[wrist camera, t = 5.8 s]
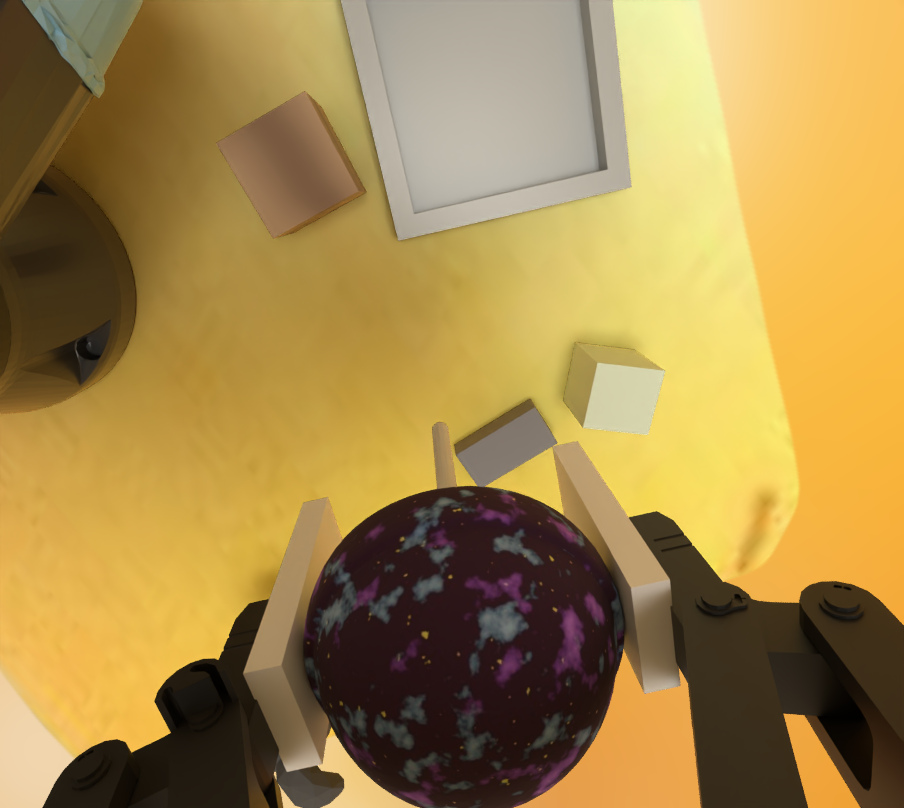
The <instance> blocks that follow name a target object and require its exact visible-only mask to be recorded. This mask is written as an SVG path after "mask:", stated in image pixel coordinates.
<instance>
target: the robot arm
mask: <svg viewBox="0 0 904 808" xmlns="http://www.w3.org/2000/svg"><path fill="white" fill-rule="evenodd" d="M142 3H143V0H0V414H7V413H20V412H28V411H34V410H38V409H42V408H46V407H49V406H52V405H55V404H58V403H60V402H62V401H65V400H67V399H69V398H70V397H72V396H74V395H76V394H78V393H79V392H81V391H83V390H85V389H87V388H88V387H90V386H92V385H93V384H95V383H96V382H98V381H99V380H100V379H101V378H103V377H104V376H105V375H106V374H107V373H108V372H109V371H110V370H111V369H112V368H113V366H114V365H115V364H116V363H117V361H118V360H119V359H120V357H121V355H122V354H123V352H124V350H125V348H126V346H127V344H128V341H129V339H130V336H131V333H132V329H133V325H134V320H135V311H136V293H135V284H134V278H133V274H132V269H131V266H130V262H129V260H128V257H127V254H126V251H125V249H124V247H123V245H122V242H121V240H120V238H119V237H118V235H117V233H116V231H115V229H114V228H113V226H112V224H111V223H110V221H109V220H108V219H107V217H106V216H105V214H104V213H103V212H102V210H101V209H100V208H99V207H98V205H97V204H96V203H95V202H94V201H93V200H92V199H91V198H90V196H88V195H87V194H86V193H85V192H84V191H83V190H82V189H81V188H80V187H79V186H78V185H77V184H76V183H75V182H73V181H72V180H71V179H70V178H68V177H67V176H66V175H64V174H63V173H62V172H60V171H59V170H57V169H56V168H54V167H53V166H51V165H50V164H51V162H52V161H53V159H54V157H55V156H56V154H57V153H58V151H59V150H60V148H61V146H62V145H63V143H64V142H65V140H66V139H67V137H68V135H69V134H70V132H71V131H72V129H73V128H74V126H75V125H76V123H77V121H78V120H79V118H80V117H81V115H82V114H83V112H84V110H85V109H86V107H87V106H88V104H89V103H90V101H91V99H92V98H93V96H96V97H98V98H100V97H101V95H102V94H103V92H104V90H105V81H104V77H103V76H104V74H105V72H106V70H107V69H108V67H109V65H110V63H111V61H112V59H113V58H114V56H115V54H116V52H117V50H118V48H119V47H120V45H121V43H122V41H123V39H124V37H125V36H126V34H127V32H128V30H129V28H130V26H131V25H132V23H133V21H134V19H135V17H136V15H137V14H138V12H139V10H140V8H141V5H142ZM553 453H554V458H555V464H556V470H557V476H558V482H559V488H560V494H561V500H562V506H563V511H564V516H565V517H566V518H567V519H568V520H570V521H571V522H572V523H573V524H574V525H575V526H576V527H578V528H579V529H580V530H581V531H582V532H583V534H584V535H585V536H586V537H587V538H588V540H589V541H590V542H591V543H592V544H593V546H594V547H595V548H596V550H597V551H598V553H599V554H600V556H601V558H602V559H603V561H604V563H605V564H606V566H607V568H608V570H609V572H610V574H611V576H612V579H613V581H614V584H615V586H616V589H617V591H618V595H619V598H620V602H621V605H622V610H623V616H624V629H625V634H624V650H625V653H626V655H627V657H628V659H629V661H630V664H631V666H632V668H633V670H634V672H635V674H636V676H637V679H638V681H639V683H640V685H641V687H642V689H643V692H644V693H645V694H646V693H650V692H655V691H660V690H664V689H669V688H673V687H678V686H680V677H679V668H680V670H681V672H682V673H683V675H684V677H685V678H686V680H687V682H688V687H689V697H690V709H691V719H692V727H693V736H694V746H695V756H696V766H697V775H698V785H699V793H700V794H699V795H700V804H701V808H808V805H807V802H806V798H805V794H804V790H803V786H802V783H801V779H800V775H799V772H798V768H797V764H796V760H795V757H794V753H793V749H792V745H791V742H790V737H789V734H788V730H787V726H786V722H785V719H784V715H783V713H785V714H797V715H805V717H806V718H807V720H808V722H809V723H810V725H811V727H812V728H813V730H814V732H815V733H816V735H817V736H818V738H819V740H820V741H821V743H822V745H823V746H824V748H825V750H826V751H827V753H828V755H829V756H830V758H831V760H832V761H833V763H834V764H835V766H836V768H837V769H838V771H839V773H840V774H841V776H842V778H843V779H844V781H845V783H846V784H847V786H848V788H849V789H850V791H851V792H852V794H853V796H854V797H855V799H856V801H857V802H858V804H859V806H860V807H861V808H904V625H903V624H902V623H901V622H900V621H899V620H898V619H897V618H896V617H895V616H894V615H893V614H892V613H891V612H890V611H889V610H888V609H887V608H886V606H885V605H884V604H883V603H882V602H881V601H880V600H879V599H877V598H876V597H875V596H873V595H872V594H871V593H870V592H868V591H866V590H864V589H862V588H859V587H857V586H855V585H852V584H846V583H842V582H837V581H834V582H833V581H832V582H818V583H816V584H812V585H809V586H808V587H806V588H805V589H804V590H803V591H802V592H801V596H800V600H799V603H779V602H778V603H777V602H763V601H757V600H753V599H751V598H750V596H749V594H747V593H746V592H745V591H743V590H742V589H741V588H739V587H737V586H734V585H732V584H729V583H727V582H722V580H721V579H720V578H719V577H718V575H717V574H716V573H715V572H714V570H713V569H712V568H711V567H710V565H709V564H708V563H707V562H706V560H705V559H704V558H703V557H702V555H701V554H700V553H699V552H698V550H697V549H696V548H695V547H694V546H692V543H691V542H690V540H689V539H688V538H687V537H686V535H685V536H684V533H683V532H682V530H681V529H680V528H679V527H678V525H677V524H676V523H675V522H674V520H672V519H670V518H668V517H666V516H664V515H663V514H661V513H659V512H657V511H656V512H651V513H647V514H642V515H638V516H633V517H629V518H628V516H627V515H626V513H625V512H624V510H623V509H622V507H621V506H620V504H619V503H618V501H617V500H616V498H615V497H614V495H613V494H612V492H611V491H610V489H609V488H608V486H607V485H606V483H605V482H604V480H603V479H602V477H601V476H600V474H599V473H598V471H597V470H596V468H595V467H594V465H593V464H592V462H591V461H590V459H589V458H588V456H587V455H586V453H585V452H584V450H583V449H582V447H581V446H580V444H579V443H578V441H576V442H571V443H567V444H562V445H558V446H554V447H553ZM341 541H342V538H341V535H340V532H339V529H338V526H337V523H336V520H335V517H334V514H333V511H332V508H331V505H330V502H329V499H328V497H326V498H322V499H318V500H313V501H309V502H304V503H303V505H302V508H301V511H300V514H299V516H298V519H297V522H296V525H295V528H294V531H293V533H292V536H291V539H290V542H289V545H288V548H287V550H286V553H285V556H284V559H283V562H282V565H281V567H280V570H279V573H278V576H277V579H276V582H275V584H274V587H273V590H272V593H271V596H270V599H267V600H262V601H258V602H253V603H249V604H248V606H247V607H246V608H245V609H244V610H243V611H242V612H241V614H240V615H239V616H238V617H237V618H236V619H235V622H234V624H233V627H232V629H231V632H230V634H229V638H228V639H227V641H226V644H225V646H224V651H223V652H222V653H221V656H220V658H219V660H216V659H202V660H199V661H195V662H192V663H190V664H188V665H186V666H185V667H183V668H181V669H179V670H178V671H176V672H175V673H174V674H173V675H172V676H171V677H169V678H168V679H167V680H166V681H165V682H164V684H163V685H162V686H161V688H160V689H159V690H158V693H157V695H156V698H155V701H154V702H155V703H156V705H157V707H158V709H159V711H160V713H161V715H162V717H163V719H164V720H165V722H166V724H167V726H168V728H169V730H170V732H171V733H170V734H168V735H166V736H165V737H163V738H161V739H159V740H157V741H155V742H153V743H151V744H149V745H146V746H144V747H142V748H140V749H138V750H136V751H134V752H132V753H131V751H130V749H129V748H128V746H127V744H126V742H123V741H120V740H117V739H116V740H109V741H104V742H102V743H100V744H97V745H95V746H93V747H91V748H89V749H88V750H86V751H85V752H83V753H82V754H81V755H79V756H78V757H76V758H75V759H74V760H73V761H72V762H71V763H70V764H69V765H68V766H67V767H66V768H65V769H64V771H63V772H62V773H61V775H60V776H59V778H58V779H57V781H56V782H55V784H54V786H53V788H52V790H51V792H50V794H49V796H48V798H47V800H46V802H45V804H44V806H43V808H283V803H282V797H281V791H280V787H279V785H278V783H277V781H276V779H275V776H274V771H275V766H276V762H277V758H278V754H279V755H280V757H281V760H282V762H283V764H284V766H285V769H286V771H287V772H289V771H294V770H298V769H303V768H307V767H312V766H317V765H321V764H322V763H323V757H324V750H325V744H326V737H327V731H328V725H329V720H328V717H327V715H326V714H325V712H324V711H323V709H322V708H321V706H320V705H319V703H318V701H317V700H316V697H315V695H314V693H313V691H312V689H311V686H310V683H309V680H308V677H307V673H306V668H305V661H304V650H303V639H304V629H305V620H306V616H307V611H308V606H309V602H310V598H311V595H312V592H313V590H314V587H315V584H316V582H317V580H318V577H319V575H320V573H321V571H322V569H323V567H324V565H325V564H326V562H327V560H328V559H329V557H330V556H331V554H332V553H333V551H334V550H335V548H336V547H337V546H338V545H339V544H340V543H341ZM678 666H679V667H678Z"/></svg>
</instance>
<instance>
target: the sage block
mask: <svg viewBox="0 0 904 808" xmlns="http://www.w3.org/2000/svg"><path fill="white" fill-rule="evenodd" d="M664 373H665V370H663V369H662V368H660V367H659V366H657V365H656V364H654V363H653V362H652V361H650V360H649V359H647V358H646V357H644V356H643V355H641V354H640V353H639V352H637V351H636V350H633V349H625V348H617V347H609V346H600V345H592V344H584V343H576V342H575V346H574V351H573V355H572V360H571V365H570V370H569V374H568V379H567V384H566V389H565V393H564V398H563V401H564V402H565V404H566V405H567V407H568V408H569V409H570V411H571V412H572V413H573V415H574V416H575V418H576V419H577V420H578V422H579V423H580V424H581V426H582V427H583V428H588V429H597V430H606V431H616V432H625V433H634V434H643V435H648V433H649V430H650V426H651V422H652V418H653V414H654V411H655V407H656V403H657V399H658V396H659V392H660V388H661V384H662V381H663V377H664Z"/></svg>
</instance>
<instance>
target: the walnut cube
mask: <svg viewBox="0 0 904 808" xmlns="http://www.w3.org/2000/svg"><path fill="white" fill-rule="evenodd" d="M216 144H217V146H218V148H219V149H220V151H221V153H222V154H223V156H224V157H225V159H226V161H227V162H228V164H229V166H230V167H231V169H232V171H233V172H234V174H235V176H236V177H237V179H238V181H239V182H240V184H241V186H242V187H243V189H244V191H245V192H246V194H247V196H248V197H249V199H250V201H251V202H252V204H253V206H254V207H255V209H256V211H257V212H258V214H259V216H260V217H261V219H262V221H263V222H264V224H265V226H266V227H267V229H268V231H269V232H270V234H271V236H272V237H273V238H277V237H281V236H284V235H288V234H292V233H294V232H296V231H298V230H299V229H301V228H303V227H305V226H307V225H308V224H310V223H312V222H314V221H316V220H317V219H319V218H321V217H323V216H325V215H326V214H328V213H330V212H332V211H334V210H335V209H337V208H339V207H341V206H343V205H344V204H346V203H348V202H350V201H352V200H353V199H355V198H357V197H359V196H361V195H362V194H364V193H366V190H365V188H364V186H363V185H362V183H361V181H360V179H359V177H358V175H357V173H356V171H355V170H354V168H353V166H352V164H351V162H350V160H349V158H348V156H347V154H346V153H345V151H344V149H343V147H342V145H341V143H340V141H339V139H338V137H337V136H336V134H335V132H334V130H333V128H332V126H331V124H330V122H329V120H328V119H327V117H326V115H325V113H324V111H323V109H322V107H321V106H320V105H319V104H318V103H317V102H316V101H315V100H314V99H313V98H312V97H311V96H310V95H309V94H308V93H306V92H305V91H304V92H302V93H301V94H299V95H297V96H296V97H294V98H292V99H290V100H289V101H287V102H285V103H284V104H282V105H280V106H278V107H277V108H275V109H273V110H272V111H270V112H268V113H266V114H265V115H263V116H261V117H260V118H258V119H256V120H255V121H253V122H251V123H249V124H248V125H246V126H244V127H243V128H241V129H239V130H237V131H236V132H234V133H232V134H231V135H229V136H227V137H225V138H224V139H222V140H220V141H219V142H217V143H216Z"/></svg>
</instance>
